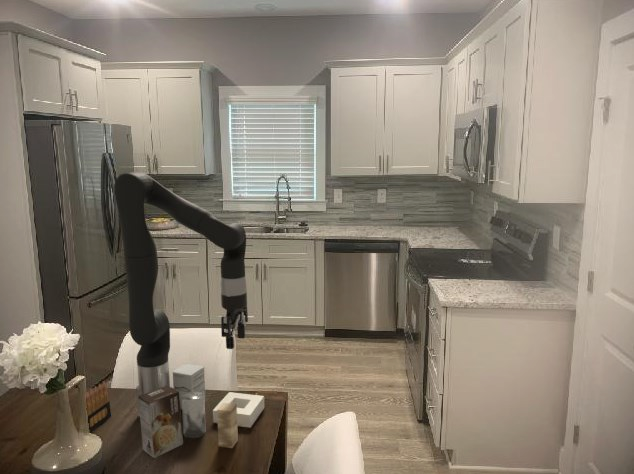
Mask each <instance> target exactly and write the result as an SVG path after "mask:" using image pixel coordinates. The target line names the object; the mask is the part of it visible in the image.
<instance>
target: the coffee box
mask: <svg viewBox="0 0 634 474" xmlns="http://www.w3.org/2000/svg"><path fill="white" fill-rule="evenodd" d="M138 399H139V410H140V416H139V419H140V431H141V442H142V443H141V444H142V450H143V451H144V452H145V453H147V455H149V456H150V457H152V458H154V459H155V458H158V457H160V456H162V455H164V454H166V453H168V452H170V451H171V450H175V449H176V448H178V447H181V446H182V445H183V444H184V440H183V439H184V438H183V436H184V435H183V422H182V414H181V413H182V412H181V409H180V398H179V391H177V390H175V389H174V388H173V387H172V386H170V387H169V386H167V385H166V386H164V387H161V388H159V389H156V390H153V391H151V392H148V393H146V394H143V395H140V396H138Z"/></svg>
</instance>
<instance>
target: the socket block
mask: <svg viewBox="0 0 634 474" xmlns="http://www.w3.org/2000/svg"><path fill="white" fill-rule="evenodd" d="M223 403H230V404H236V405H237V427H243V428H252V426H253V425H254V423H255V422H256V421H257V419H258V418H259V416H260V415H261V413H262V412H263V410H264V409H265V396H264V395H258V394H257V395H256V394H249V393H240V392H231V391H229V392H228V393H227V394H226V395H225V396H224V397H223V399H221V400H220V401H219V403H218V404H216V406H215V407H214V409H212V422H213V424H218V418H217V409H218V408H219V407H220V406H221V405H222V404H223Z"/></svg>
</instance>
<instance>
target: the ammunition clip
mask: <svg viewBox="0 0 634 474" xmlns="http://www.w3.org/2000/svg"><path fill="white" fill-rule="evenodd" d="M108 394H109V393H108V389H107V384H106V382H105V381H104V380H103V381H102V384H101V383H99V384H98V387H97V386H96V385H95V386H94V389H92V388H91V389H90V390H89V391H86V394H85V399H86V408H87V415H88V423H89V430H90V433H91V432H92V431H94V430H95V429H96V428H98V427H99V426H100V425H102V424H103V423H105V421H107V420H109V419H110V418H112V411H111V410H112V409H111V404H110V401H109V395H108Z"/></svg>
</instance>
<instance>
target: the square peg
mask: <svg viewBox="0 0 634 474" xmlns="http://www.w3.org/2000/svg"><path fill="white" fill-rule="evenodd" d="M217 418H218V423H217V434H218V447H221V448H229V449H233V448H234V447H235V445H236V444H237V442H238V441H239V436H238V431H239V430H238V426H237V405H236V404H230V403H223V404H222V405H221V406H220V407H219V408H218V409H217Z"/></svg>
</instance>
